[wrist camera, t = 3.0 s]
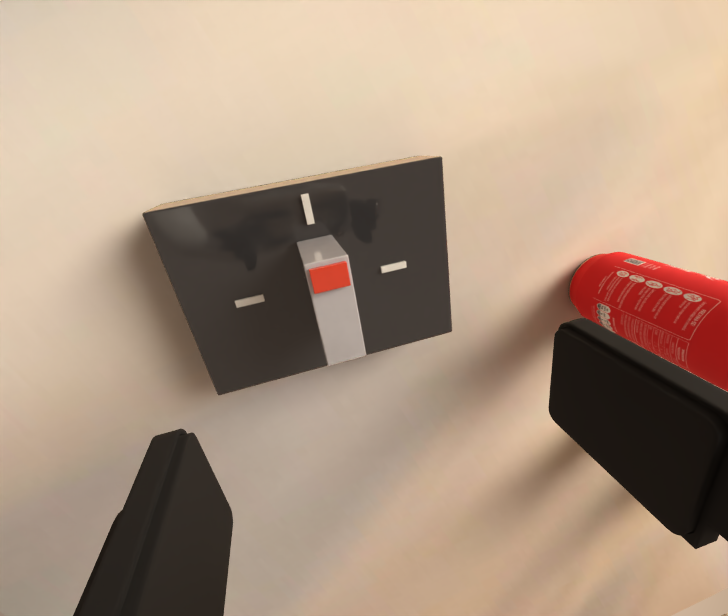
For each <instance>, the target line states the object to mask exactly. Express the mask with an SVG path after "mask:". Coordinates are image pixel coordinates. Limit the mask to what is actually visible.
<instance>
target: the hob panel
mask: <svg viewBox="0 0 728 616" xmlns="http://www.w3.org/2000/svg"><path fill="white" fill-rule="evenodd" d="M143 217H144V219H145V222H146V224H147V227H148V229H149V231H150V234H151V236H152V239H153V241H154V243H155V246H156V248H157V251H158V253H159V255H160V258H161V260H162V262H163V265H164V267H165V270H166V272H167V274H168V277H169V279H170V282H171V284H172V286H173V289H174V291H175V294H176V296H177V298H178V301H179V303H180V306H181V308H182V310H183V313H184V315H185V317H186V320H187V322H188V325H189V327H190V329H191V332H192V334H193V337H194V339H195V341H196V344H197V346H198V349H199V351H200V353H201V356H202V358H203V361H204V363H205V365H206V368H207V370H208V372H209V375H210V377H211V380H212V382H213V384H214V387H215V389H216V392H217V394H218V395H222V394H225V393H229V392H233V391H236V390H240V389H244V388H247V387H251V386H255V385H258V384H262V383H266V382H269V381H273V380H277V379H280V378H284V377H288V376H291V375H295V374H299V373H302V372H306V371H310V370H313V369H317V368H321V367H324V366H328V365H327V362H326V358H325V355H324V351H323V348H322V344H321V341H320V337H319V334H318V330H317V326H316V322H315V318H314V314H313V310H312V306H311V302H310V298H309V294H308V290H307V285H306V281H305V277H304V273H303V269H302V265H301V261H300V257H299V253H298V248H297V244H296V242H299V241H304V240H309V239H313V238H318V237H323V236H327V235H332V236H333V237H334V238H335V239H336V241H337V242H338V243H339V244H340V246H341V247H342V248H343V250H344V251H345V252H346V253H347V255H348V257H349V262H350V268H351V273H352V279H353V284H354V290H355V295H356V301H357V306H358V312H359V317H360V322H361V328H362V333H363V339H364V344H365V350H366V355H368V354H372V353H375V352H379V351H383V350H386V349H390V348H394V347H397V346H401V345H405V344H408V343H412V342H416V341H419V340H423V339H427V338H430V337H434V336H438V335H441V334H445V333H449V332H452V321H451V304H450V287H449V270H448V253H447V235H446V218H445V201H444V184H443V167H442V157H441V156H415V157H409V158H404V159H399V160H394V161H388V162H383V163H378V164H372V165H367V166H362V167H356V168H351V169H346V170H340V171H335V172H330V173H324V174H319V175H314V176H308V177H303V178H298V179H292V180H287V181H282V182H276V183H271V184H266V185H260V186H255V187H250V188H244V189H239V190H234V191H228V192H223V193H218V194H212V195H207V196H202V197H196V198H191V199H186V200H180V201H175V202H170V203H164V204H160V205H158V206H156V207H154V208H152V209H150V210H148V211H146V212H144V213H143Z"/></svg>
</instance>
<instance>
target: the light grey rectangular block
mask: <svg viewBox="0 0 728 616" xmlns="http://www.w3.org/2000/svg"><path fill="white" fill-rule="evenodd" d="M296 244H297V248H298V253H299V257H300V261H301V265H302V269H303V273H304V277H305V281H306V285H307V290H308V294H309V298H310V302H311V306H312V310H313V314H314V318H315V322H316V326H317V330H318V334H319V337H320V341H321V344H322V348H323V351H324V355H325V358H326V362H327V365H328V366H331V365H335V364H339V363H342V362H346V361H350V360H353V359H357V358H361V357H364V356H366V350H365V344H364V339H363V333H362V328H361V322H360V317H359V312H358V306H357V301H356V295H355V290H354V284H353V279H352V273H351V268H350V262H349V257H348V255H347V253H346V252H345V251H344V250H343V248H342V247H341V246H340V244H339V243H338V242H337V241H336V239H335V238H334V237H333V236H332V235H327V236H323V237H318V238H313V239H309V240H304V241H299V242H296Z"/></svg>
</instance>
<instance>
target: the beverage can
mask: <svg viewBox="0 0 728 616" xmlns="http://www.w3.org/2000/svg"><path fill="white" fill-rule="evenodd" d="M569 297H570V300H571V302H572V304H573V305H574V306H576V308H577V309H578V311H579V313H580V314H581V315H582V316H583V317H585V318H587V319H589V320H591V321H593V322H595V323H597V324H598V325H600V326H602V327H604V328H606V329H608V330H610V331H612V332H614V333H616V334H618V335H619V336H621V337H623V338H625V339H627V340H629V341H631V342H633V343H635V344H637V345H639V346H641V347H643V348H644V349H646V350H648V351H650V352H652V353H654V354H656V355H658V356H660V357H662V358H664V359H666V360H668V361H670V362H671V363H673V364H675V365H677V366H679V367H681V368H683V369H685V370H687V371H689V372H691V373H693V374H695V375H697V376H698V377H700V378H702V379H704V380H706V381H708V382H710V383H712V384H714V385H716V386H718V387H720V388H722V389H724V390H725V391H727V392H728V281H724V280H720V279H717V278H713V277H710V276H706V275H703V274H699V273H695V272H692V271H688V270H685V269H681V268H678V267H674V266H670V265H667V264H663V263H660V262H656V261H653V260H649V259H645V258H642V257H638V256H635V255H631V254H627V253H623V252H614V253H610V254H598V255H595V256H592V257H591V258H589V259H587V260H586V261H585V262H584V263H582V264H581V265H580V267H579V268H578V269H577V270H576V272H575V273H574V275H573V277H572V279H571V282H570V286H569Z"/></svg>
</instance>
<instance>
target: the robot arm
mask: <svg viewBox="0 0 728 616" xmlns="http://www.w3.org/2000/svg"><path fill="white" fill-rule="evenodd" d="M549 413H550V415H551V417H552V419H553V420H554V421H555V423H557V424H558V425H559V426H560V427H561V428H562V429H563V430H564V431H565V432H566V433H567V434H568V435H569V436H570V437H571V438H572V439H573V440H574V441H575V442H577V443H578V444H579V445H580V446H581V447H582V448H583V449H584V450H585V451H586V452H587V453H588V454H589V455H590V456H591V457H592V458H593V459H594V460H595V461H597V462H598V463H599V464H600V465H601V466H602V467H603V468H604V469H605V470H606V471H607V472H608V473H609V474H610V475H611V476H612V477H613V478H614V479H615V480H617V481H618V482H619V483H620V484H621V485H622V486H623V487H624V488H625V489H626V490H627V491H628V492H629V493H630V494H631V495H632V496H633V497H634V498H635V499H637V500H638V501H639V502H640V503H641V504H642V505H643V506H644V507H645V508H646V509H647V510H648V511H649V512H650V513H651V514H652V515H653V516H654V517H655V518H657V519H658V520H659V521H660V522H661V523H662V524H663V525H664V526H665V527H666V528H667V529H668V530H670V531H671V532H672V533H674V534H676V535H681V536H682V537H683V538H684V539H685V540H686V541H687V542H688V543H689V544H690V545H692V546H693V547H694V548H695V549H697V548H700V547H702V546H705V545H707V544H709V543H712V542H714V541H717V539H718V536H719V534H720V535H721V536H722V537H723V538H724V539H726V540H727V541H728V392H726V391H724V390H722V389H720V388H719V387H717V386H715V385H713V384H711V383H709V382H707V381H705V380H703V379H701V378H699V377H698V376H696V375H694V374H692V373H690V372H688V371H686V370H684V369H682V368H680V367H679V366H677V365H675V364H673V363H671V362H669V361H667V360H665V359H663V358H661V357H659V356H658V355H656V354H654V353H652V352H650V351H648V350H646V349H644V348H642V347H640V346H638V345H637V344H635V343H633V342H631V341H629V340H627V339H625V338H623V337H621V336H619V335H618V334H616V333H614V332H612V331H610V330H608V329H606V328H604V327H602V326H600V325H598V324H597V323H595V322H593V321H591V320H589V319H586V318H580V319H576V320H573V321H569V322H565V323H563V324H561V325H560V327H559V329H558V331H556V333H555V337H554V349H553V361H552V373H551V386H550V398H549ZM232 528H233V517H232V511H231V508H230V506H229V504H228V502H227V500H226V498H225V495H224V493H223V491H222V489H221V487H220V485H219V483H218V481H217V479H216V477H215V475H214V473H213V471H212V468H211V466H210V464H209V462H208V460H207V458H206V456H205V454H204V452H203V450H202V448H201V446H200V444H199V441H198V439H197V437H196V436H195V434H194V433H188V434H187V433H186V431H185V430H183V429H178V430H175V431H171V432H168V433H164V434H160V435H157V436H155V437H153V439H152V441H151V443H150V445H149V448H148V450H147V452H146V455H145V457H144V460H143V462H142V464H141V467H140V469H139V472H138V474H137V476H136V479H135V481H134V484H133V486H132V488H131V491H130V493H129V496H128V498H127V500H126V503H125V505H124V507H123V510H122V511H121V512H120V513H118V515H117V517H116V518H115V520H114V522H113V524H112V526H111V529H110V531H109V533H108V536H107V538H106V540H105V543H104V545H103V547H102V550H101V552H100V554H99V557H98V559H97V561H96V564H95V566H94V568H93V571H92V573H91V575H90V578H89V580H88V582H87V585H86V587H85V589H84V592H83V594H82V596H81V599H80V601H79V603H78V606H77V608H76V610H75V613H74V615H73V616H223V614H224V604H225V595H226V585H227V576H228V566H229V557H230V547H231V537H232ZM722 616H728V613H726V614H724V615H722Z"/></svg>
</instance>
